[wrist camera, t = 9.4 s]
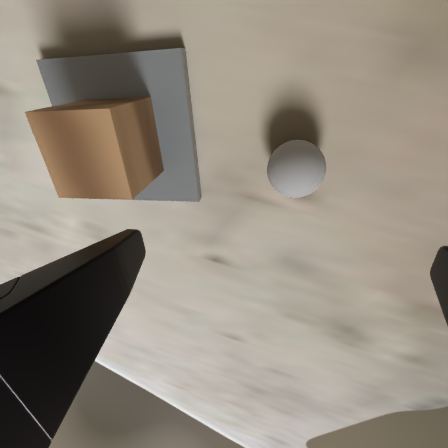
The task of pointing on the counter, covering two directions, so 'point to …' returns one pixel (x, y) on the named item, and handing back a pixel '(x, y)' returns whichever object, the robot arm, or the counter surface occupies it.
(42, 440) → the robot arm
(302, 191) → the grey ball
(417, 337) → the counter surface
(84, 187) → the tan block
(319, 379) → the counter surface
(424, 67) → the counter surface
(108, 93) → the slate board
